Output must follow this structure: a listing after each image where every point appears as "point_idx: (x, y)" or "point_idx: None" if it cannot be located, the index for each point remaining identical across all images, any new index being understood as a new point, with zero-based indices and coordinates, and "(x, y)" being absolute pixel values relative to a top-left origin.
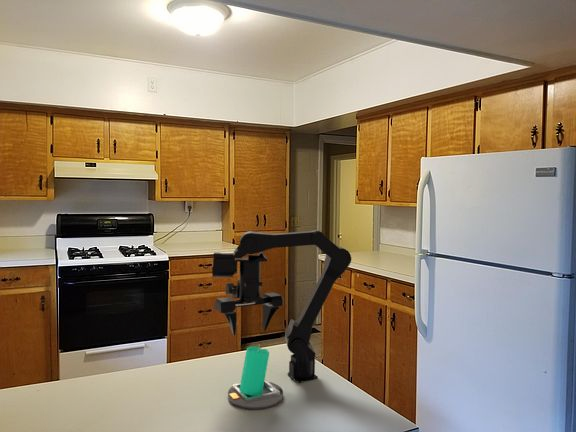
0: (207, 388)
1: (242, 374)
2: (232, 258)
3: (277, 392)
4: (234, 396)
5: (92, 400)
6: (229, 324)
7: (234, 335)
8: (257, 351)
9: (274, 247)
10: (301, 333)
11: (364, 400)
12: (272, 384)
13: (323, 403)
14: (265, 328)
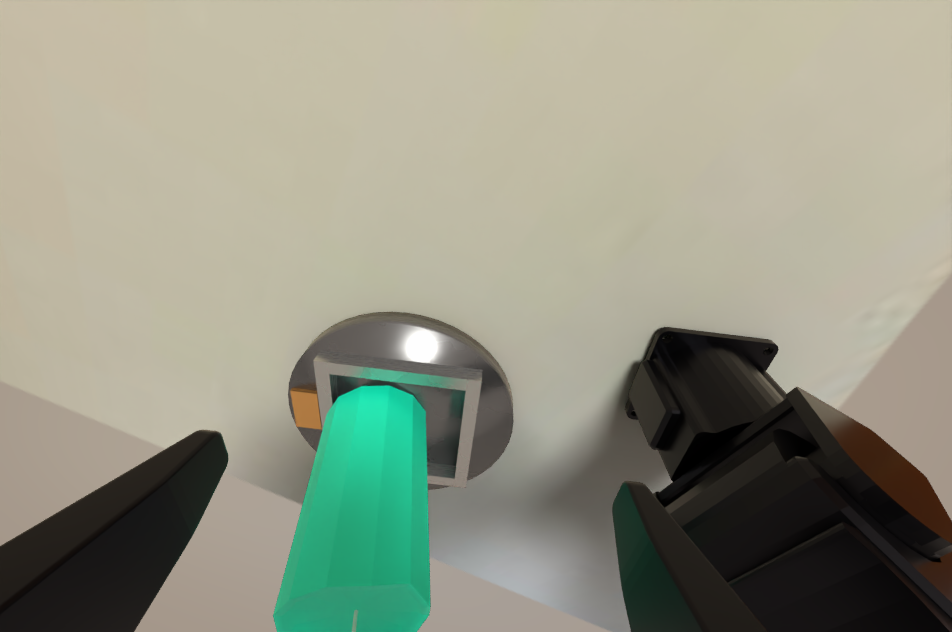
0: (230, 238)
1: (311, 474)
2: None
3: (455, 485)
4: (304, 414)
5: None
6: (18, 556)
7: (221, 457)
8: (355, 607)
9: None
10: None
11: None
12: (499, 405)
13: (571, 526)
14: (624, 550)
